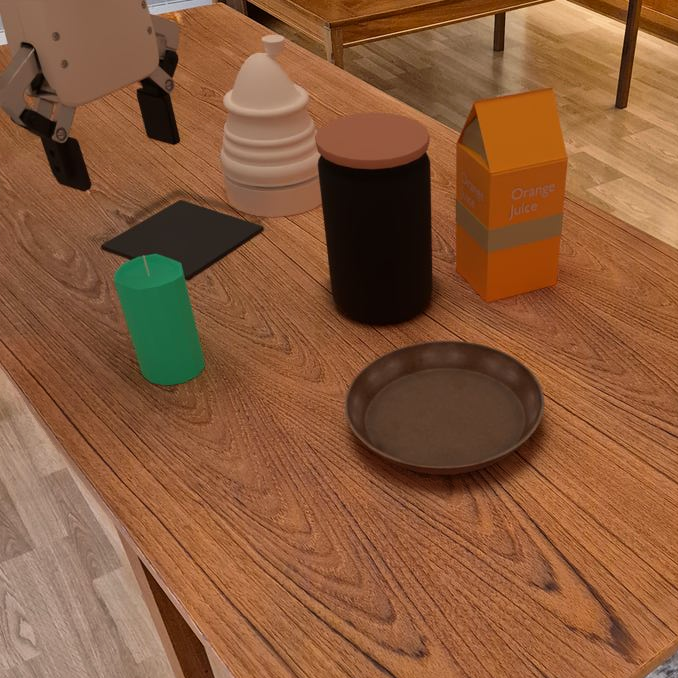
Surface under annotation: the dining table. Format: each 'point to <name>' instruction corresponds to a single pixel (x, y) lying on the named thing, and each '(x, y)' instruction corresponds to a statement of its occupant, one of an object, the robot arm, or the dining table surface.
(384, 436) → the plant saucer
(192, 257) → the mat
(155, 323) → the candle
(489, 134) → the orange juice
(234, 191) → the honey pot
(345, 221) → the coffee jar
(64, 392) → the dining table surface
